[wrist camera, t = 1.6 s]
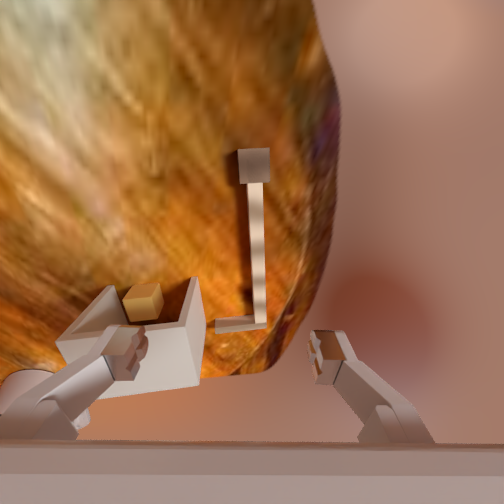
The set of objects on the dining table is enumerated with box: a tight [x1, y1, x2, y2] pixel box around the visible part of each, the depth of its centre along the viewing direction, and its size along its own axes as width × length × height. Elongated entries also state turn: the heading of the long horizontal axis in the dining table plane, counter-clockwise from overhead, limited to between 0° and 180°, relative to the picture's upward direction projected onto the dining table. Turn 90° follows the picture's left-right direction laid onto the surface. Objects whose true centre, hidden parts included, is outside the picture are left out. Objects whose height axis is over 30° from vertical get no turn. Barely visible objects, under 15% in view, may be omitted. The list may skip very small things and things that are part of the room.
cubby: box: [55, 277, 206, 399], centre depth 39 cm, size 12×17×14 cm
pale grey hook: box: [215, 148, 270, 334], centre depth 41 cm, size 35×12×3 cm, turn 3°
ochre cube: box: [122, 282, 164, 322], centre depth 42 cm, size 5×5×5 cm
